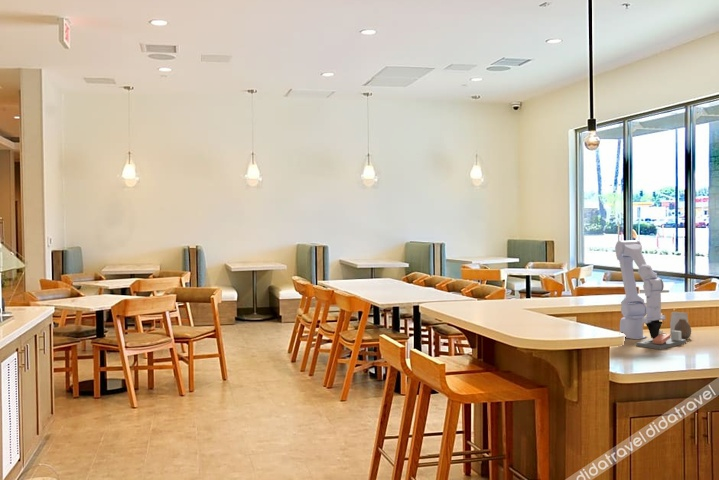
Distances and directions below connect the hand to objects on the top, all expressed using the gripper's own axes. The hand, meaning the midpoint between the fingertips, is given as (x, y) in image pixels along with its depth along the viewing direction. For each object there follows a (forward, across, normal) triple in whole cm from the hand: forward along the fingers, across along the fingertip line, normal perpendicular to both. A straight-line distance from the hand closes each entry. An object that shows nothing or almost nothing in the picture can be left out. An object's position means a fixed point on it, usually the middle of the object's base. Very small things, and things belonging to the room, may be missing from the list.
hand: (654, 338), depth 302 cm
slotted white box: (+1, +6, -6) cm, 9 cm away
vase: (+3, +20, -2) cm, 20 cm away
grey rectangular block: (+3, +30, +5) cm, 30 cm away
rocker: (-1, -4, -6) cm, 8 cm away
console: (+2, 0, -3) cm, 4 cm away
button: (+1, +8, +1) cm, 8 cm away
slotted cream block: (+1, +3, 0) cm, 3 cm away
